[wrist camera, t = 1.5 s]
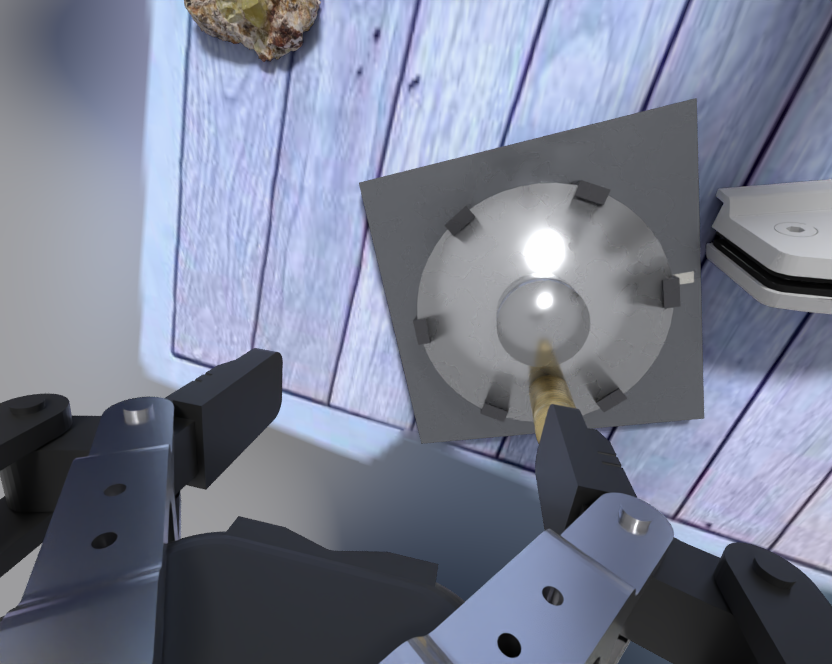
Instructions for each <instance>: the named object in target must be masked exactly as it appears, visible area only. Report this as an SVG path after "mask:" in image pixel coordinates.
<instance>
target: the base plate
mask: <svg viewBox="0 0 832 664" xmlns="http://www.w3.org/2000/svg"><path fill="white" fill-rule="evenodd" d="M577 180H583V181H586V182H589V183H592V184H595V185H598V186H601V187H604V188H607V189H610V193H609V195H608V196H610V197H612V198H614V199H615V200H617V201H619V202H620V203H622V204H624V205H625V206H627V207H628V208H629V209H630V210H632V211H633V212H634V213H635V214H636V215H638V216H639V217H640V218H641V219H642V220H643V221H644V223H645V224H646V225H647V226H648V227H649V228H650V229H651V231H652V232H653V234H654V235H655V237H656V238H657V240H658V241H659V243H660V244H661V246H662V249H663V251H664V253H665V255H666V257H667V260H668V263H669V267H670V270H671V274H672V275H674V276H677V277H679V278H680V304H681V306H680V307H673V314H672V320H671V325H670V328H669V331H668V334H667V337H666V340H665V342H664V344H663V346H662V348H661V350H660V353H659V355H658V356H657V358H656V359H655V361H654V362H653V364H652V365H651V367H650V368H649V370H648V371H647V372H646V373H645V374H644V375H643V376H642V378H641V379H640V380H639V381H638V382H637V383H636V384H635V385H634V386H632V387H631V388H630V389H629V390H628V391H627V392H626V393H624V394H625V395H626V397H627V398H628V399H626V400H624V401H623V402H621V403H619V404H618V405H616V406H614V407H613V408H611V409H609V410H608V411H606V412H603V411H602V410H601V409H597V410H595V411H592V412H590V413H587V414H585V415H582V416H583V419H584V421H585V423H586V426H587V428H589V429H591V428H602V427H614V426H625V425H636V424H647V423H658V422H670V421H681V420H692V419H703V418H704V391H703V348H702V306H701V263H700V221H699V178H698V136H697V98H695V99H691V100H687V101H683V102H679V103H675V104H671V105H667V106H663V107H659V108H655V109H651V110H647V111H643V112H639V113H635V114H631V115H627V116H623V117H619V118H615V119H611V120H607V121H603V122H599V123H595V124H591V125H587V126H583V127H579V128H575V129H571V130H567V131H563V132H559V133H555V134H551V135H547V136H543V137H539V138H535V139H532V140H528V141H524V142H520V143H516V144H512V145H508V146H504V147H500V148H496V149H492V150H488V151H484V152H480V153H476V154H472V155H468V156H464V157H460V158H456V159H452V160H448V161H444V162H440V163H436V164H432V165H428V166H424V167H420V168H416V169H412V170H408V171H404V172H400V173H396V174H392V175H388V176H384V177H380V178H376V179H372V180H368V181H364V182H360V183H359V186H360V190H361V194H362V198H363V202H364V206H365V210H366V215H367V219H368V223H369V227H370V231H371V235H372V240H373V244H374V248H375V252H376V256H377V260H378V264H379V269H380V273H381V277H382V281H383V285H384V289H385V294H386V298H387V302H388V306H389V310H390V314H391V318H392V323H393V327H394V331H395V335H396V339H397V343H398V348H399V352H400V356H401V360H402V364H403V368H404V372H405V377H406V381H407V385H408V389H409V393H410V397H411V402H412V406H413V410H414V414H415V418H416V422H417V426H418V431H419V435H420V439H421V443H422V444H423V443H434V442H445V441H456V440H468V439H479V438H490V437H501V436H513V435H524V434H535V433H536V432H535V426H534V422H531V421H520V420H515V419H510V418H506V419H505V421H504V422H501V421H499V420H496V419H493V418H491V417H488V416H485V415H483V414H480V411H481V408H479V407H478V406H476V405H474V404H473V403H471V402H469V401H467V400H466V399H465V398H463V397H462V396H461V395H460V394H458V393H457V392H456V391H455V390H454V389H453V388H452V387H451V386H450V385H449V384H447V383H446V381H445V380H444V379H443V378H442V376H441V375H440V374H439V373H438V371H437V370H436V368H435V367H434V365H433V363H432V362H431V360H430V358H429V356H428V354H427V352H426V349H425V347H424V345H423V344H422V345H418V342H417V337H416V333H415V328H414V324H413V320H414V318H415V317H416V315H417V300H418V291H419V285H420V281H421V277H422V273H423V271H424V268H425V266H426V263H427V261H428V258H429V256H430V255H431V253H432V251H433V249H434V247H435V246H436V244H437V243H438V241H439V240H440V239H441V237H442V236H443V234H444V233H445V232H446V231H447V230H448V229H447V228H446V227H445V226H444V225H445V224H446V223H447V222H448V221H450V220H451V219H452V218H453V217H454V216H455V215H456V214H457V213H458V212H459V211H461V210H462V209H463V208H464V207H465V206H466V205H468V204H469V205H470V207H471V208H472V207H474V206H475V205H477V204H479V203H480V202H482V201H484V200H485V199H487V198H489V197H491V196H494V195H496V194H498V193H500V192H503V191H506V190H510V189H513V188H516V187H520V186H526V185H532V184H538V183H562V184H571V183H572V181H577Z"/></svg>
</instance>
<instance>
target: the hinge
mask: <svg viewBox="0 0 832 664" xmlns="http://www.w3.org/2000/svg"><path fill="white" fill-rule="evenodd" d="M716 197H718V198H719V199H720V200H721V201H722V202H723V203H724V204H723V206H722V208H721V210H720V212H719V213H718V215H717V217H716V219H715V221H714V223H713V225H712V228H714V229H715V230H716V231H717V232H716V234H717V235H719V236H720V237H721V238H723V239H714V242H713V243H707V244H706V255H707V259H709V260H710V261H711V262H712V263H713V264H715V265H716V266H717V267H718V268H719V269H720V270H722V271H723V272H724V273H725V274H726V275H727V276H729V277H730V278H731V279H732V280H733V281H735V282H736V283H737V284H738V285H739V286H740V287H742V288H743V289H744V290H745V291H746V292H747V293H749V294H750V295H751V296H752V297H753V298H755V299H756V300H757V301H758V302H760V303H762V304H764V305H766V306H769V307H774V308H781V309H788V310H796V311H804V312H814V313H824V314H832V179H828V180H816V181H804V182H792V183H780V184H768V185H755V186H743V187H731V188H719V189H718V190H717V193H716Z"/></svg>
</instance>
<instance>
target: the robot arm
mask: <svg viewBox="0 0 832 664" xmlns="http://www.w3.org/2000/svg"><path fill="white" fill-rule="evenodd" d="M282 365H283V361H282V356H281V354H280V353H279V352H274V351H269V350H263V349H258V348H254V349H252V350H250V351H249V352H247V353H246V354H244V355H243V356H241V357H239V358H238V359H236V360H233V361H230V362H227V363H224V364H221V365H218V366H216V367H214V368H213V369H211V370H209V371H208V372H206V374H205V375H204V374H203V375H201V376H200V377H198V378H196V379H195V381H192V382H190V383H188V384H187V385H185V386H183V387H182V388H180V389H179V390H177V391H175V392H174V393H172V394H170V395H169V396H167V397H166V398H161V397H150V396H149V397H137V398H132V399H128V400H124V401H121V402H118V403H116V404H114V405H112V406H110V407H109V408H108V409H106V410H105V411H104V412H103V414H102V416H72V415H71V409H70V403H69V400H68V399H67V398H66V397H64V396H62V395H58V394H34V395H27V396H23V397H18V398H14V399H11V400H8V401H5V402H2V403H0V477H1V481H2V485H3V489H4V493H5V496H4V497H3V498H1V499H0V577H1V576H3V575H4V574H5V573H6V572H8V571H9V570H10V569H11V568H12V567H14V566H15V565H16V564H17V563H18V562H20V561H21V560H22V559H23V558H25V557H26V556H27V555H28V554H29V553H31V552H32V551H33V550H34V549H35V548H37V547H38V546H39V545H40V544H41V543H42V545H41V548H40V551H39V553H38V557H37V559H36V561H35V564H34V567H33V570H32V572H31V575H30V578H29V581H28V583H27V586H26V589H25V591H24V594H23V596H22V599H21V601H20V603H19V604H18V605H17V606H16V608H13V609H12V610H10V611H9V612H8V613H7V614H6V615H5V616H3V617H1V618H0V664H617V663H618V661H619V659H620V658H621V656H622V654H623V653H624V651H625V649H626V647H627V646H628V644H629V642H630V641H632V642H634V643H636V644H638V645H640V646H642V647H643V648H645V649H647V650H649V651H651V652H653V653H654V654H656V655H658V656H660V657H662V658H664V659H666V660H667V661H669V662H671V663H673V664H832V606H831V604H830V603H829V602H828V600H827V599H826V598H825V596H824V595H823V594H822V593H821V591H820V590H819V589H818V587H817V586H816V585H815V584H814V583H813V582H812V580H811V579H809V578H808V577H807V576H806V575H805V574H804V573H803V572H802V571H801V570H799V569H798V568H797V567H795V566H794V565H793V564H791V563H790V562H788V561H787V560H785V559H783V558H782V557H780V556H778V555H776V554H775V553H772V552H770V551H768V550H766V549H764V548H761V547H758V546H755V545H752V544H747V543H739V542H738V543H731V544H729V545H728V546H726V548H725V550H724V552H723V554H722V556H721V558H719V557H717V556H714V555H712V554H710V553H707V552H705V551H703V550H700V549H698V548H695V547H693V546H691V545H688V544H686V543H684V542H682V541H680V540H678V539H676V538H674V531H673V528H672V526H671V524H670V523H669V521H668V520H667V519H666V517H665V516H664V515H663V514H662V513H660V512H659V511H658V510H657V509H656V508H654V507H653V506H651V505H650V504H648V503H646V502H645V501H643V500H641V499H638V498H637V496H636V494H635V492H634V490H633V488H632V486H631V484H630V482H629V480H628V478H627V476H626V474H625V472H624V470H623V468H621V463H620V461H619V459H618V457H616V453H615V451H614V449H613V447H612V445H611V443H610V442H609V441H608V440H607V439H606V438H605V437H604V436H603V435H602V434H601V433H600V432H599V431H597V430H594V429H589V428H587V426H586V423H585V421H584V419H583V416H582V414H581V412H580V410H579V409H577V408H571V407H566V406H561V405H555V404H551V405H550V406H549V409H548V412H547V415H546V419H545V423H544V427H543V431H542V435H541V439H540V442H539V446H538V450H537V455H536V463H535V474H536V480H537V486H538V493H539V499H540V504H541V511H542V517H543V523H544V529H545V531H544V532H543V533H541V534H540V535H539V536H538V537H537V538H536V539H535V540H534V541H533V542H531V543H530V544H529V545H528V546H527V547H526V548H525V549H524V550H523V551H521V552H520V553H519V554H518V555H517V556H516V557H515V558H514V559H513V560H512V561H510V562H509V563H508V564H507V565H506V566H505V567H504V568H503V569H501V570H500V571H499V572H498V573H497V574H496V575H495V576H494V577H493V578H491V579H490V580H489V581H488V582H487V583H486V584H485V585H484V586H482V588H480V589H479V590H478V591H477V592H476V593H475V594H474V595H473V596H472V597H470V598H469V599H468V600H467V601H466V602H465V601H463V600H462V599H461V598H460V597H458V596H457V595H456V594H455V593H453V592H452V591H450V590H449V589H447V588H446V587H444V586H442V585H440V584H438V583H436V577H437V569H438V564H435V563H431V562H427V561H423V560H419V559H415V558H411V557H406V556H402V555H398V554H393V553H390V552H368V551H332V550H328V549H326V548H324V547H322V546H320V545H318V544H316V543H314V542H312V541H310V540H308V539H307V538H305V537H303V536H301V535H299V534H297V533H295V532H293V531H291V530H289V529H287V528H286V527H282V526H277V525H273V524H269V523H265V522H261V521H257V520H252V519H248V518H244V517H240V516H238V517H237V519H236V520H235V521H234V523H233V524H232V525H231V526H230V528H229V529H228V530H227V531H226V532H211V533H204V534H198V535H193V536H189V537H185V538H182V539H181V493H180V490H181V489H182V488H183V487H184V486H185V485H189V486H193V487H197V488H202V489H207V488H208V487H209V486H210V485H211V484H212V483H213V482H214V481H215V480H216V479H217V478H218V477H219V476H220V475H221V474H222V473H223V472H224V471H225V470H226V468H228V467H229V465H230V464H231V463H232V462H233V461H234V460H235V459H236V458H237V457H238V456H239V455H240V454H241V453H242V452H243V451H244V450H245V449H246V448H247V447H248V446H249V445H250V444H251V443H252V442H253V441H254V440H255V439H256V438H257V437H258V435H260V434H261V433H262V432H263V431H264V429H265V428H266V427H267V426H268V425H269V424H270V423H271V422H272V421H273V420H274V419H275V418H276V416H277V415H278V413H279V410H280V407H281V402H282Z"/></svg>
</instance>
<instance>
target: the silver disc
mask: <svg viewBox="0 0 832 664" xmlns="http://www.w3.org/2000/svg"><path fill="white" fill-rule="evenodd" d="M609 193H610V189H607V188H604V187H601V186H598V185H595V184H592V183H589V182H586V181H583V180H577V181H572V183H571V184H562V183H538V184H532V185H526V186H520V187H516V188H513V189H510V190H506V191H503V192H500V193H498V194H496V195H494V196H491V197H489V198H487V199H485V200H484V201H482V202H480V203H479V204H477V205H475V206H474V207H472V208H471V207H470V205H469V204H468V205H466V206H465V207H464V208H463V209H462V210H461V211H459V212H458V213H457V214H456V215H455V216H454V217H453V218H452V219H451V220H450V221H448V222H447V223H446V224H445V225H444V226H445V227H446V228H447V229H448V230H447V231H446V232H445V233H444V234H443V236H442V237H441V239H440V240H439V241H438V243H437V244H436V246H435V247H434V249H433V251H432V253H431V255H430V256H429V258H428V261H427V263H426V266H425V268H424V271H423V273H422V277H421V281H420V285H419V291H418V300H417V315H416V317H415V318H414V320H413V324H414V328H415V333H416V337H417V342H418V345H422V344H423V345H424V347H425V349H426V352H427V354H428V356H429V358H430V360H431V362H432V363H433V365H434V367H435V368H436V370H437V371H438V373H439V374H440V375H441V376H442V378H443V379H444V380H445V381H446V383H447V384H449V385H450V386H451V387H452V388H453V389H454V390H455V391H456V392H457V393H458V394H460V395H461V396H462V397H463V398H465V399H466V400H467V401H469V402H471V403H473V404H474V405H476V406H478V407H479V408H481V411H480V414H483V415H485V416H488V417H491V418H493V419H496V420H499V421H501V422H504V421H505V419H506V418H510V419H515V420H520V421H531V422H534V426H535V432H536V438H537V441H538V443H539V442H540V439H541V435H542V431H543V427H544V423H545V419H546V415H547V412H548V409H549V406H550V405H551V404H555V405H561V406H566V407H571V408H577V409H579V410H580V412H581V414H582V415H585V414H587V413H590V412H592V411H595V410H597V409H601V410H602V411H603V412H606V411H608V410H609V409H611V408H613V407H614V406H616V405H618V404H619V403H621V402H623V401H624V400H626V399H628V398H627V397H626V395H625V394H624V393H626V392H627V391H628V390H629V389H630V388H631V387H632V386H634V385H635V384H636V383H637V382H638V381H639V380H640V379H641V378H642V376H643V375H644V374H645V373H646V372H647V371H648V370H649V368H650V367H651V365H652V364H653V362H654V361H655V359H656V358H657V356H658V355H659V353H660V350H661V348H662V346H663V344H664V342H665V340H666V337H667V334H668V331H669V328H670V325H671V320H672V314H673V307H680V306H681V304H680V278H679V277H677V276H674V275H672V274H671V270H670V267H669V263H668V260H667V257H666V255H665V253H664V251H663V249H662V246H661V244H660V243H659V241H658V240H657V238H656V237H655V235H654V234H653V232H652V231H651V229H650V228H649V227H648V226H647V225H646V224H645V223H644V221H643V220H642V219H641V218H640V217H639V216H638V215H636V214H635V213H634V212H633V211H632V210H630V209H629V208H628V207H627V206H625V205H624V204H622V203H620V202H619V201H617V200H615V199H614V198H612V197H610V196H608V195H609Z"/></svg>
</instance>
